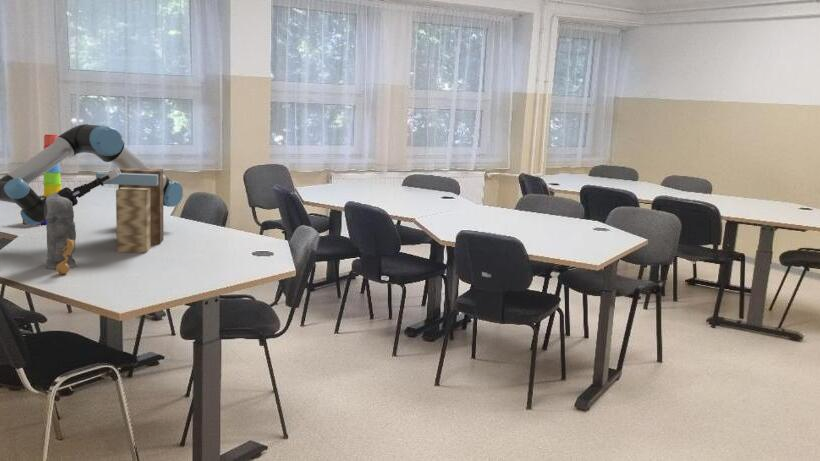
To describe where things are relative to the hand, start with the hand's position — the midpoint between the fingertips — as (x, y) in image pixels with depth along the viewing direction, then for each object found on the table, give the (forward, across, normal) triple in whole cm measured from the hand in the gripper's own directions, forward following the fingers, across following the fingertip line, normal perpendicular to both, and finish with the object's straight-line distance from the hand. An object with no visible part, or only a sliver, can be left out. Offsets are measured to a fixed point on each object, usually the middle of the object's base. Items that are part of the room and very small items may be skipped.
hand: (118, 171), depth 277 cm
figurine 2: (-23, +40, -22) cm, 51 cm away
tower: (-11, -17, -29) cm, 35 cm away
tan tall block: (-11, 0, -29) cm, 31 cm away
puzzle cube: (-54, -54, -4) cm, 77 cm away
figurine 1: (-27, +28, -20) cm, 44 cm away
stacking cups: (-70, -139, +5) cm, 156 cm away
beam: (+1, 0, -6) cm, 6 cm away
